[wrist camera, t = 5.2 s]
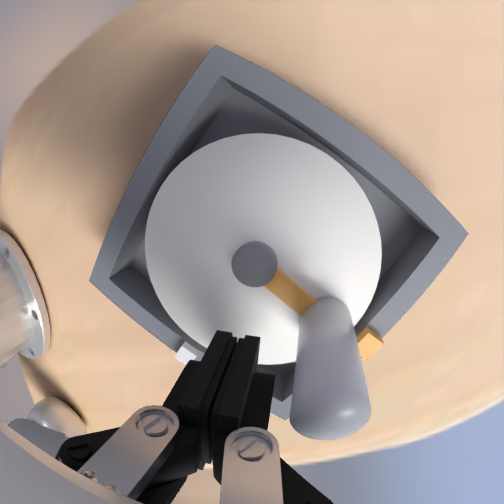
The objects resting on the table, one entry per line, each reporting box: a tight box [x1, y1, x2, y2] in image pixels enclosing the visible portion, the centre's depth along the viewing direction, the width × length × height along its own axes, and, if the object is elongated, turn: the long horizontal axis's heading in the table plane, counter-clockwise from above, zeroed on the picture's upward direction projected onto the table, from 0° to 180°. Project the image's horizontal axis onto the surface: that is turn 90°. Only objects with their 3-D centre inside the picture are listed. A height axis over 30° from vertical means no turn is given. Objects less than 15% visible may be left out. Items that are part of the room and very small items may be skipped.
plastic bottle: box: [26, 397, 87, 438], centre depth 13 cm, size 6×7×20 cm
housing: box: [89, 45, 469, 420], centre depth 12 cm, size 12×12×4 cm
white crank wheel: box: [145, 133, 382, 440], centre depth 9 cm, size 9×9×7 cm
